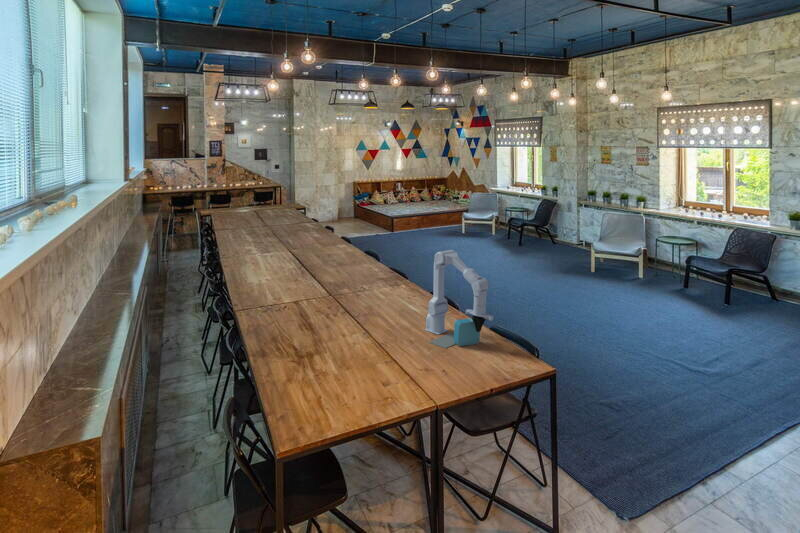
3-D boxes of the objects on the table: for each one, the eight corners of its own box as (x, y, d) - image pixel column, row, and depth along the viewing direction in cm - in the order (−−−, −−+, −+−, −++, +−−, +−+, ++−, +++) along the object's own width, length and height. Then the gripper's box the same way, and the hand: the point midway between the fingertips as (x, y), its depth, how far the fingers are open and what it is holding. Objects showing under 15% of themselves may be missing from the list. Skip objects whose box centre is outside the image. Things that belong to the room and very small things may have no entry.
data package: (474, 340, 249) (476, 317, 246) (479, 343, 245) (481, 320, 242) (453, 342, 245) (454, 320, 242) (457, 346, 241) (459, 323, 238)
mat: (428, 342, 246) (428, 341, 246) (458, 330, 263) (458, 329, 263) (445, 348, 239) (445, 347, 239) (475, 335, 255) (475, 335, 255)
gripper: (497, 305, 233) (496, 332, 236) (472, 298, 243) (471, 325, 246) (488, 308, 228) (487, 336, 231) (463, 301, 238) (462, 328, 241)
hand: (478, 331), depth 238 cm, fingers closed
